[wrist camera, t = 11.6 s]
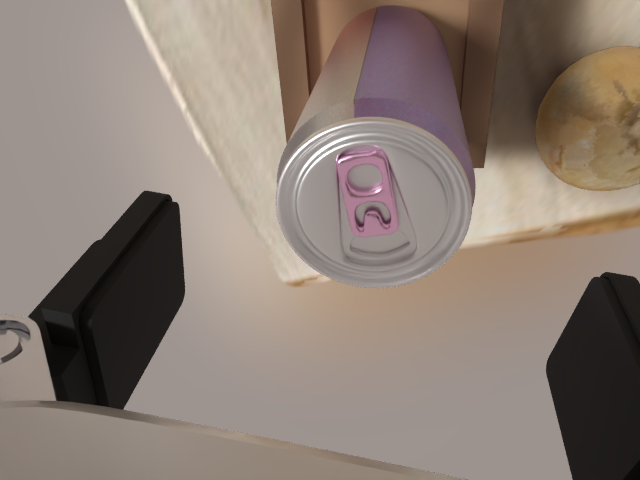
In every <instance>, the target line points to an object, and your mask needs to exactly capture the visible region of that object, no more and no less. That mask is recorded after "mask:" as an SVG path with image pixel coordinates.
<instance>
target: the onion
mask: <svg viewBox="0 0 640 480" xmlns="http://www.w3.org/2000/svg"><path fill="white" fill-rule="evenodd" d="M563 89H564V90H563ZM535 140H536V144H537V148H538V151H539V153H540V155H541V158H542V160H543V162H544V163H545V165H546V166H547V168H548V169H549V170H550V171H551V172H552V173H553V174H554V175H555V176H556V177H558V178H559V179H561V180H562V181H564V182H565V183H567V184H570V185H572V186H575V187H577V188H581V189H586V190H595V191H610V190H619V189H623V188H628V187H631V186H634V185H637V184H640V47H631V46H620V47H612V48H608V49H604V50H600V51H598V52H595V53H592V54H589V55H587V56H585V57H583V58H581V59H580V60H578V61H577V62H575V63H574V64H572V65H571V66H570V67H568V68H567V69H566V70H565V71H564V72H563V73H562V74H561V75H559V76H558V77H557V79H556V80H555V81H554V83H553V84H552V85H551V87H550V89H549V90H548V91H547V93H546V95H545V97H544V98H543V100H542V102H541V104H540V106H539V110H538V115H537V119H536V125H535Z"/></svg>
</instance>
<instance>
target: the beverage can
mask: <svg viewBox="0 0 640 480" xmlns="http://www.w3.org/2000/svg"><path fill="white" fill-rule="evenodd" d="M474 198H475V175H474V170H473V165H472V161H471V156H470V152H469V147H468V143H467V138H466V134H465V129H464V125H463V120H462V116H461V111H460V107H459V102H458V98H457V93H456V89H455V84H454V80H453V75H452V71H451V66H450V62H449V57H448V53H447V48H446V45H445V42H444V39H443V37H442V35H441V33H440V32H439V30H438V29H437V27H436V26H435V25H434V24H433V23H432V22H431V21H430V20H429V19H428V18H427V17H426V16H424V15H423V14H421V13H420V12H418V11H416V10H413V9H411V8H408V7H404V6H399V5H384V6H378V7H374V8H371V9H369V10H366V11H364V12H362V13H361V14H359V15H358V16H356V17H355V18H353V19H352V20H351V21H350V22H349V23H348V24H347V25H346V26H345V27H344V29H343V30H342V31H341V33H340V34H339V36H338V38H337V40H336V42H335V44H334V46H333V48H332V50H331V52H330V54H329V57H328V59H327V61H326V63H325V65H324V67H323V69H322V71H321V74H320V76H319V78H318V80H317V82H316V84H315V86H314V88H313V90H312V93H311V95H310V97H309V99H308V101H307V103H306V105H305V107H304V110H303V112H302V114H301V116H300V118H299V120H298V122H297V124H296V127H295V129H294V131H293V133H292V135H291V137H290V139H289V141H288V144H287V146H286V148H285V150H284V152H283V154H282V157H281V160H280V163H279V168H278V173H277V191H276V211H277V217H278V221H279V224H280V227H281V230H282V232H283V234H284V236H285V238H286V240H287V242H288V243H289V245H290V246H291V247H292V249H293V250H294V251H295V253H296V254H297V255H298V256H299V257H300V258H301V259H302V260H303V261H304V262H305V263H307V264H308V265H309V266H310V267H312V268H313V269H314V270H316V271H318V272H319V273H321V274H323V275H325V276H326V277H329V278H331V279H333V280H336V281H338V282H341V283H344V284H348V285H352V286H358V287H364V288H389V287H396V286H400V285H405V284H408V283H411V282H414V281H417V280H419V279H422V278H424V277H426V276H428V275H429V274H431V273H433V272H434V271H436V270H437V269H439V268H440V267H441V266H442V265H444V263H446V262H447V261H448V260H449V259H450V258H451V257H452V256H453V255H454V253H455V252H456V251H457V250H458V248H459V247H460V245H461V243H462V242H463V240H464V238H465V236H466V234H467V231H468V228H469V224H470V220H471V214H472V207H473V203H474Z"/></svg>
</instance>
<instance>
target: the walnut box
mask: <svg viewBox="0 0 640 480" xmlns="http://www.w3.org/2000/svg"><path fill="white" fill-rule="evenodd" d="M384 5H399V6H404V7H408V8H411V9H413V10H416V11H418V12H420V13H421V14H423V15H424V16H426V17H427V18H428V19H429V20H430V21H431V22H432V23H433V24H434V25H435V26H436V27H437V29H438V30H439V32H440V33H441V35H442V37H443V39H444V42H445V45H446V48H447V53H448V57H449V62H450V66H451V71H452V75H453V80H454V84H455V89H456V93H457V98H458V102H459V107H460V111H461V116H462V120H463V125H464V129H465V134H466V138H467V143H468V147H469V152H470V156H471V161H472V165H473V168H484V162H485V154H486V146H487V137H488V129H489V121H490V112H491V104H492V96H493V88H494V79H495V71H496V63H497V54H498V46H499V38H500V30H501V21H502V13H503V5H504V0H271V6H272V15H273V24H274V33H275V42H276V51H277V60H278V69H279V78H280V87H281V96H282V105H283V114H284V123H285V132H286V141H287V144H288V141H289V139H290V137H291V135H292V133H293V131H294V129H295V127H296V124H297V122H298V120H299V118H300V116H301V114H302V112H303V110H304V107H305V105H306V103H307V101H308V99H309V97H310V95H311V93H312V90H313V88H314V86H315V84H316V82H317V80H318V78H319V76H320V74H321V71H322V69H323V67H324V65H325V63H326V61H327V59H328V57H329V54H330V52H331V50H332V48H333V46H334V44H335V42H336V40H337V38H338V36H339V34H340V33H341V31H342V30H343V29H344V27H345V26H346V25H347V24H348V23H349V22H350V21H351V20H352V19H353V18H355V17H356V16H358V15H359V14H361V13H362V12H364V11H366V10H369V9H371V8H374V7H378V6H384Z"/></svg>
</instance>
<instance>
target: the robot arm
mask: <svg viewBox="0 0 640 480" xmlns="http://www.w3.org/2000/svg"><path fill="white" fill-rule="evenodd" d="M182 254H183V253H182V239H181V224H180V211H179V205H178V203H177V202H172V198H171V196H170V195H168V194H162V193H156V192H151V191H144V192H142V193H141V194H140V196H139V197H138V198H137V199H136V200H135V201H134V202H133V204H132V205H131V206H130V207H129V208H128V209H127V210H126V212H125V213H124V214H123V215H122V216H121V217H120V219H119V220H118V221H117V222H116V223H115V224H114V225H113V226H112V228H111V229H110V230H109V231H108V232H107V233H106V234H105V236H104V237H103V238H102V239H101V240H97V241H96V242H94V243H93V244H92V245H91V246H90V247H89V248H88V250H87V251H86V252H85V253H84V254H83V255H82V256H81V257H80V259H79V260H78V261H77V262H76V263H75V264H74V265H73V267H72V268H71V269H70V270H69V271H68V272H67V273H66V274H65V276H64V277H63V278H62V279H61V280H60V281H59V283H57V285H56V286H55V287H54V288H53V289H52V290H51V291H50V293H49V294H48V295H47V296H46V297H45V298H44V299H43V300H42V301H41V303H40V304H39V305H38V306H37V307H36V308H35V309H34V311H33V312H32V313H31V314H30V315H29V316H28V317H25V316H22V315H18V314H4V315H0V480H467V479H463V478H458V477H453V476H449V475H444V474H439V473H435V472H430V471H425V470H420V469H415V468H411V467H406V466H401V465H396V464H391V463H387V462H382V461H377V460H372V459H367V458H363V457H358V456H353V455H347V454H343V453H338V452H334V451H329V450H324V449H319V448H314V447H309V446H304V445H299V444H295V443H290V442H285V441H280V440H275V439H270V438H265V437H260V436H255V435H250V434H245V433H240V432H235V431H230V430H225V429H220V428H216V427H210V426H205V425H201V424H195V423H191V422H186V421H181V420H175V419H170V418H164V417H159V416H154V415H148V414H143V413H138V412H132V411H127V410H123V409H124V407H125V405H126V403H127V402H128V400H129V398H130V396H131V394H132V393H133V391H134V389H135V387H136V385H137V384H138V382H139V380H140V378H141V376H142V375H143V373H144V371H145V369H146V367H147V366H148V364H149V362H150V360H151V358H152V356H153V355H154V353H155V351H156V349H157V348H158V346H159V344H160V342H161V340H162V339H163V337H164V335H165V333H166V331H167V330H168V328H169V326H170V324H171V322H172V321H173V319H174V317H175V315H176V313H177V312H178V310H179V308H180V306H181V304H182V302H183V299H184V295H185V282H184V267H183V255H182ZM546 373H547V378H548V382H549V386H550V390H551V394H552V398H553V402H554V406H555V410H556V414H557V418H558V422H559V426H560V430H561V434H562V438H563V442H564V446H565V450H566V454H567V458H568V462H569V466H570V470H571V474H572V478H573V480H640V284H639V282H638V280H637V279H636V278H635V277H633V276H627V275H621V274H616V273H610V272H605V273H603V274H602V275H601V276H600V277H594V278H593V279H592V280H591V281H590V283H589V284H588V287H587V288H586V290H585V292H584V294H583V296H582V297H581V299H580V301H579V303H578V305H577V306H576V308H575V310H574V312H573V314H572V316H571V317H570V319H569V321H568V323H567V325H566V327H565V329H564V330H563V332H562V334H561V336H560V338H559V339H558V341H557V344H556V345H555V347H554V349H553V351H552V352H551V354H550V356H549V358H548V361H547V365H546Z"/></svg>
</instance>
